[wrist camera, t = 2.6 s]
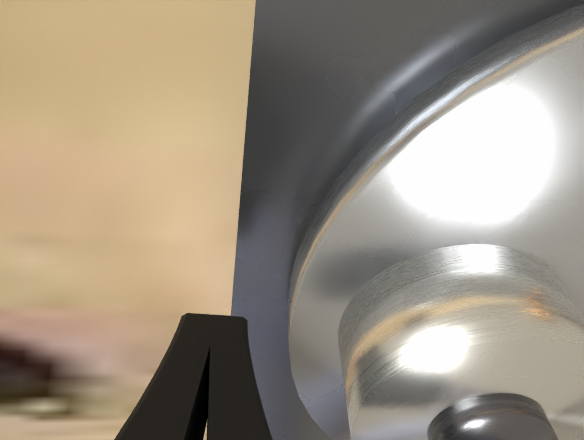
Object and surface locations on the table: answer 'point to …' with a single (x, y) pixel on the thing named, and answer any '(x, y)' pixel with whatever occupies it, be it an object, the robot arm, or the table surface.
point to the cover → (464, 350)
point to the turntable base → (332, 137)
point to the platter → (449, 192)
